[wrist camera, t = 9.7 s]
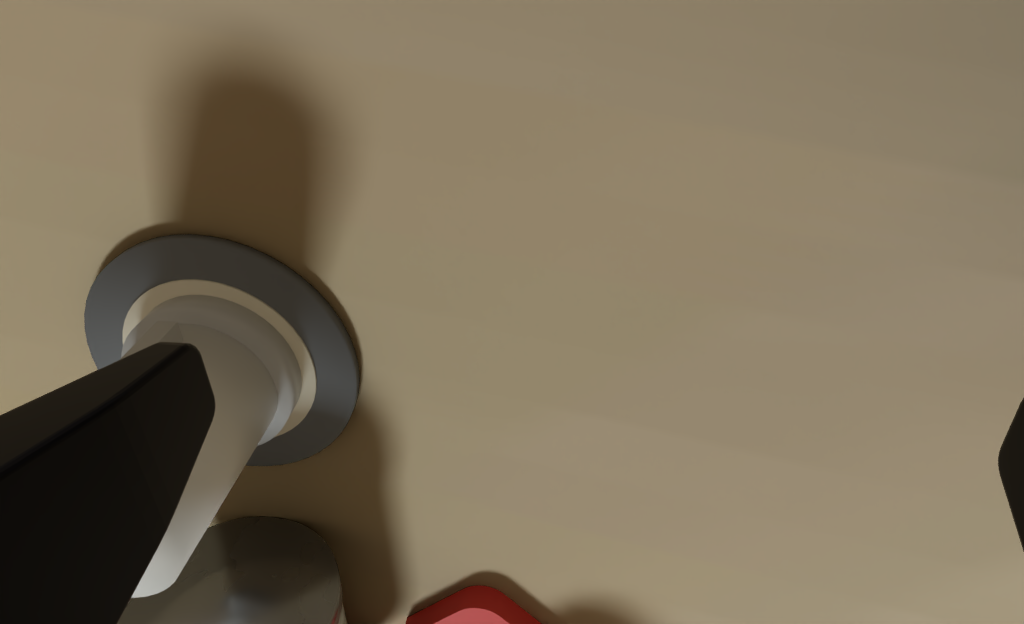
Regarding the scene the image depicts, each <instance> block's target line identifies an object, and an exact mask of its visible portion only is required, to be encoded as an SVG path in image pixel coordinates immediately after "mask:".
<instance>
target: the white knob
mask: <svg viewBox="0 0 1024 624" xmlns="http://www.w3.org/2000/svg"><path fill="white" fill-rule="evenodd" d="M158 342H177V343H190V344H192V345H194V346H196V347H197V349H198V350H199V351H200V353H201V356H202V359H203V362H204V365H205V368H206V371H207V375H208V378H209V381H210V384H211V387H212V390H213V393H214V397H215V414H214V418H213V421H212V423H211V426H210V428H209V431H208V433H207V436H206V438H205V440H204V443H203V445H202V448H201V450H200V453H199V455H198V457H197V460H196V462H195V465H194V467H193V470H192V472H191V475H190V477H189V479H188V482H187V484H186V487H185V489H184V492H183V494H182V496H181V499H180V501H179V504H178V506H177V509H176V511H175V513H174V516H173V518H172V520H171V522H170V524H169V527H168V529H167V531H166V533H165V535H164V537H163V539H162V541H161V543H160V545H159V547H158V549H157V551H156V552H155V554H154V556H153V558H152V560H151V562H150V564H149V565H148V567H147V569H146V571H145V573H144V575H143V577H142V578H141V580H140V582H139V584H138V586H137V588H136V590H135V591H134V593H133V595H132V597H131V598H138V597H146V596H150V595H154V594H157V593H160V592H162V591H164V590H166V589H167V588H168V587H170V586H171V585H172V584H173V583H174V582H175V581H176V579H177V578H178V576H179V574H180V573H181V571H182V569H183V568H184V566H185V564H186V563H187V561H188V559H189V558H190V556H191V555H192V553H193V551H194V550H195V548H196V546H197V545H198V543H199V541H200V540H201V538H202V536H203V535H204V533H205V531H206V530H207V528H208V526H209V525H210V523H211V521H212V520H213V518H214V516H215V515H216V513H217V511H218V510H219V508H220V506H221V505H222V503H223V501H224V500H225V498H226V496H227V495H228V493H229V492H230V490H231V488H232V487H233V485H234V483H235V482H236V480H237V478H238V477H239V475H240V473H241V472H242V470H243V468H244V467H245V465H246V463H247V462H248V460H249V458H250V457H251V455H252V453H253V452H254V450H255V448H256V447H257V446H259V445H262V444H264V443H266V442H267V441H269V440H271V439H272V438H273V437H275V436H276V435H277V434H278V433H279V432H280V431H281V430H282V428H283V427H284V425H285V423H286V422H287V420H288V418H289V416H290V415H291V413H292V411H293V410H294V408H295V406H296V404H297V402H298V400H299V397H300V394H301V389H302V377H301V371H300V367H299V364H298V361H297V359H296V356H295V354H294V352H293V351H292V349H291V347H290V346H289V344H288V343H287V341H286V340H285V339H284V337H283V336H282V335H281V334H280V333H279V332H278V331H277V330H276V329H275V328H274V327H273V326H272V325H271V324H270V323H269V322H267V321H266V320H265V319H264V318H262V317H261V316H259V315H258V314H256V313H255V312H253V311H251V310H249V309H248V308H246V307H244V306H242V305H239V304H237V303H235V302H232V301H229V300H226V299H223V298H219V297H214V296H208V295H184V296H178V297H175V298H171V299H168V300H166V301H164V302H162V303H160V304H159V305H158V306H156V307H155V308H154V309H153V310H152V311H150V312H149V313H148V314H147V315H146V316H145V317H144V318H143V319H142V320H141V321H140V322H139V323H138V324H137V325H136V326H135V327H134V328H133V329H132V330H131V331H130V333H129V335H128V336H127V338H126V340H125V342H124V345H123V348H122V353H121V359H123V358H125V357H127V356H129V355H131V354H133V353H136V352H138V351H140V350H142V349H144V348H146V347H148V346H151V345H153V344H155V343H158ZM121 359H120V360H121Z"/></svg>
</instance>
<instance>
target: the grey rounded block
mask: <svg viewBox="0 0 1024 624" xmlns="http://www.w3.org/2000/svg"><path fill="white" fill-rule="evenodd" d="M117 624H348V623H347V619H346V615H345V610H344V606H343V596H342V586H341V580H340V576H339V571H338V567H337V563H336V560H335V557H334V555H333V553H332V551H331V549H330V548H329V546H328V545H327V543H326V542H325V541H324V540H323V539H322V538H321V537H320V536H319V535H318V534H317V533H315V532H314V531H313V530H311V529H309V528H308V527H306V526H304V525H302V524H299V523H297V522H294V521H290V520H286V519H282V518H274V517H251V518H243V519H237V520H232V521H228V522H224V523H220V524H218V525H215V526H212V527H209V528H207V530H206V531H205V533H204V535H203V536H202V538H201V540H200V541H199V543H198V545H197V546H196V548H195V550H194V551H193V553H192V555H191V556H190V558H189V559H188V561H187V563H186V564H185V566H184V568H183V569H182V571H181V573H180V574H179V576H178V578H177V579H176V581H175V582H174V583H173V584H172V585H171V586H170V587H168V588H167V589H166V590H164V591H162V592H160V593H157V594H154V595H150V596H146V597H138V598H131V599H130V601H129V602H128V604H127V606H126V608H125V610H124V612H123V614H122V615H121V617H120V619H119V621H118V623H117Z"/></svg>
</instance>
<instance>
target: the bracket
mask: <svg viewBox="0 0 1024 624" xmlns="http://www.w3.org/2000/svg"><path fill="white" fill-rule="evenodd" d="M406 624H541V623H540V622H539V621H537V620H536V619H535V618H534V617H532V616H531V615H530V614H529V613H527V612H526V611H525V610H524V609H522V608H521V607H520V606H518V605H517V604H516V603H515V602H513V601H512V600H511V599H510V598H508V597H507V596H506V595H505V594H503V593H502V592H500V591H499V590H497V589H494V588H491V587H487V586H470V587H466V588H464V589H462V590H460V591H458V592H456V593H454V594H452V595H450V596H448V597H446V598H444V599H443V600H441V601H439V602H437V603H435V604H433V605H431V606H429V607H427V608H425V609H423V610H421V611H419V612H417V613H415V614H413V615H411V616H409V617H408V618H407V620H406Z"/></svg>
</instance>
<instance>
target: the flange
mask: <svg viewBox="0 0 1024 624" xmlns="http://www.w3.org/2000/svg"><path fill="white" fill-rule="evenodd" d="M184 295H208V296H214V297H219V298H223V299H226V300H229V301H232V302H235V303H237V304H239V305H242V306H244V307H246V308H248V309H249V310H251V311H253V312H255V313H256V314H258V315H259V316H261V317H262V318H264V319H265V320H266V321H267V322H269V323H270V324H271V325H272V326H273V327H274V328H275V329H276V330H277V331H278V332H279V333H280V334H281V335H282V336H283V337H284V339H285V340H286V341H287V343H288V344H289V346H290V347H291V349H292V351H293V352H294V354H295V356H296V359H297V361H298V364H299V367H300V371H301V377H302V389H301V394H300V397H299V400H298V402H297V404H296V406H295V408H294V410H293V411H292V413H291V415H290V416H289V418H288V420H287V422H286V423H285V425H284V427H283V428H282V430H281V431H280V432H279V433H278V434H277V435H276V436H275V437H273V438H272V439H271V440H269V441H267V442H266V443H264V444H262V445H259V446H257V447H256V448H255V450H254V452H253V453H252V455H251V457H250V458H249V460H248V462H247V463H246V465H248V466H273V465H283V464H288V463H292V462H296V461H299V460H302V459H305V458H308V457H310V456H312V455H314V454H316V453H318V452H320V451H321V450H323V449H324V448H326V447H327V446H328V445H330V444H331V443H332V442H333V441H334V440H335V439H336V438H337V437H338V436H339V435H340V433H341V432H342V431H343V429H344V428H345V426H346V425H347V423H348V421H349V418H350V416H351V414H352V412H353V410H354V407H355V405H356V401H357V397H358V393H359V382H360V377H359V366H358V361H357V357H356V353H355V349H354V347H353V344H352V342H351V339H350V337H349V334H348V332H347V331H346V329H345V327H344V325H343V323H342V322H341V320H340V318H339V317H338V316H337V314H336V313H335V311H334V310H333V309H332V307H331V306H330V305H329V303H328V302H327V301H326V300H325V299H324V298H323V297H322V296H321V295H320V294H319V293H318V291H317V290H316V289H314V288H313V287H312V286H311V285H310V284H309V283H308V282H307V281H305V280H304V279H303V278H302V277H301V276H299V275H298V274H297V273H295V272H294V271H292V270H291V269H290V268H288V267H287V266H285V265H284V264H282V263H280V262H278V261H277V260H275V259H273V258H272V257H270V256H268V255H266V254H264V253H262V252H259V251H257V250H255V249H253V248H250V247H248V246H245V245H242V244H239V243H236V242H233V241H230V240H225V239H221V238H216V237H211V236H202V235H192V234H188V235H169V236H163V237H157V238H153V239H150V240H147V241H144V242H141V243H139V244H137V245H135V246H133V247H131V248H129V249H127V250H126V251H124V252H123V253H122V254H120V255H119V256H118V257H116V258H115V259H114V260H113V261H111V262H110V263H109V264H108V265H107V266H106V267H105V268H104V269H103V270H102V271H101V273H100V274H99V275H98V276H97V278H96V280H95V281H94V283H93V285H92V286H91V289H90V292H89V294H88V297H87V300H86V307H85V314H84V317H85V332H86V338H87V343H88V346H89V349H90V352H91V355H92V358H93V360H94V362H95V364H96V366H97V368H98V370H99V369H101V368H103V367H105V366H108V365H110V364H112V363H114V362H116V361H118V360H120V359H121V353H122V348H123V345H124V342H125V340H126V338H127V336H128V335H129V333H130V331H131V330H132V329H133V328H134V327H135V326H136V325H137V324H138V323H139V322H140V321H141V320H142V319H143V318H144V317H145V316H146V315H147V314H148V313H149V312H150V311H152V310H153V309H154V308H155V307H156V306H158V305H159V304H160V303H162V302H164V301H166V300H168V299H171V298H175V297H178V296H184Z"/></svg>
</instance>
